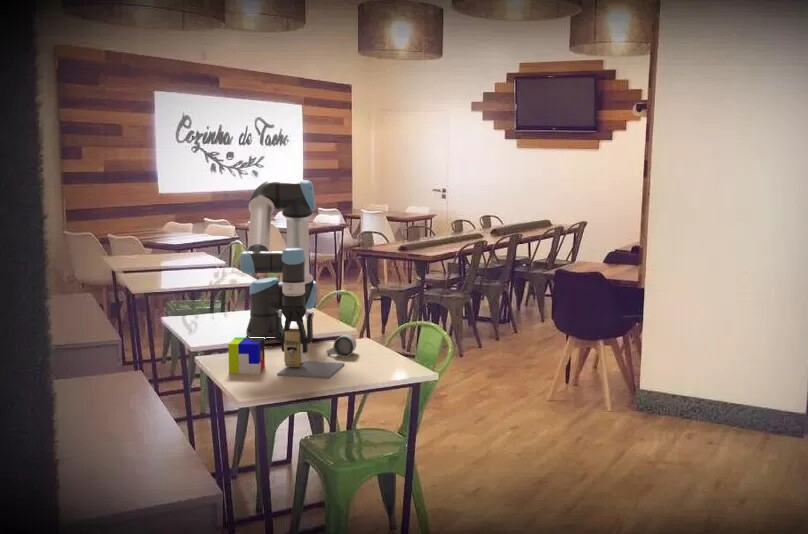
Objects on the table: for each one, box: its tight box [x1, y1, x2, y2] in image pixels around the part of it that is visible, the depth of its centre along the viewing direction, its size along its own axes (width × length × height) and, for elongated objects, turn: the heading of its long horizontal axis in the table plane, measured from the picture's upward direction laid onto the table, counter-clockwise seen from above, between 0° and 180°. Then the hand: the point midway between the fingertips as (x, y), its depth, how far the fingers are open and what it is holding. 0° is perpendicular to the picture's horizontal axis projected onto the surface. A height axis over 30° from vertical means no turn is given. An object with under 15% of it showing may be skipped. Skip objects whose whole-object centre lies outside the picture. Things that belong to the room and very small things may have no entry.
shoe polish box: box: [284, 327, 304, 367], centre depth 267 cm, size 5×5×12 cm
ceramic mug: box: [326, 333, 357, 358], centre depth 288 cm, size 11×8×8 cm
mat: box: [276, 360, 345, 379], centre depth 267 cm, size 18×18×1 cm
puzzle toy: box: [227, 336, 266, 374], centre depth 267 cm, size 10×10×10 cm
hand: (294, 361), depth 268 cm, fingers closed on shoe polish box, 5 cm apart
